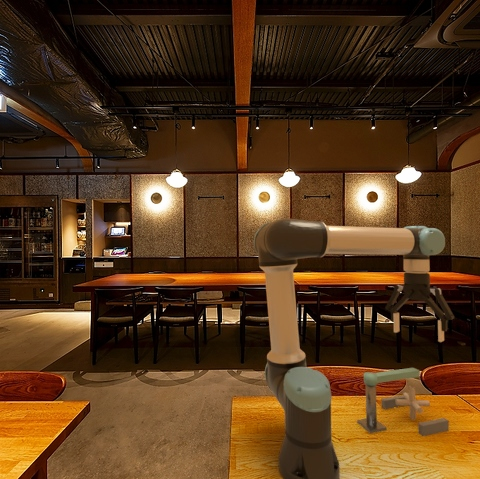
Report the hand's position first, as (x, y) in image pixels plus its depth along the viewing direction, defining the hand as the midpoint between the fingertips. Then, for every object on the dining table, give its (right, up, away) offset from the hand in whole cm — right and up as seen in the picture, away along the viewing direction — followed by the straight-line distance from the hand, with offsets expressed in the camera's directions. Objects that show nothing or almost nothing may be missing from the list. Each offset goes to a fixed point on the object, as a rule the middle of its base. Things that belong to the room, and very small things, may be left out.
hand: (417, 336), depth 99 cm
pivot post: (-18, -27, -5) cm, 32 cm away
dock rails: (-2, -27, -1) cm, 27 cm away
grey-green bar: (-10, -13, -3) cm, 17 cm away
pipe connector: (-2, -27, -1) cm, 27 cm away
